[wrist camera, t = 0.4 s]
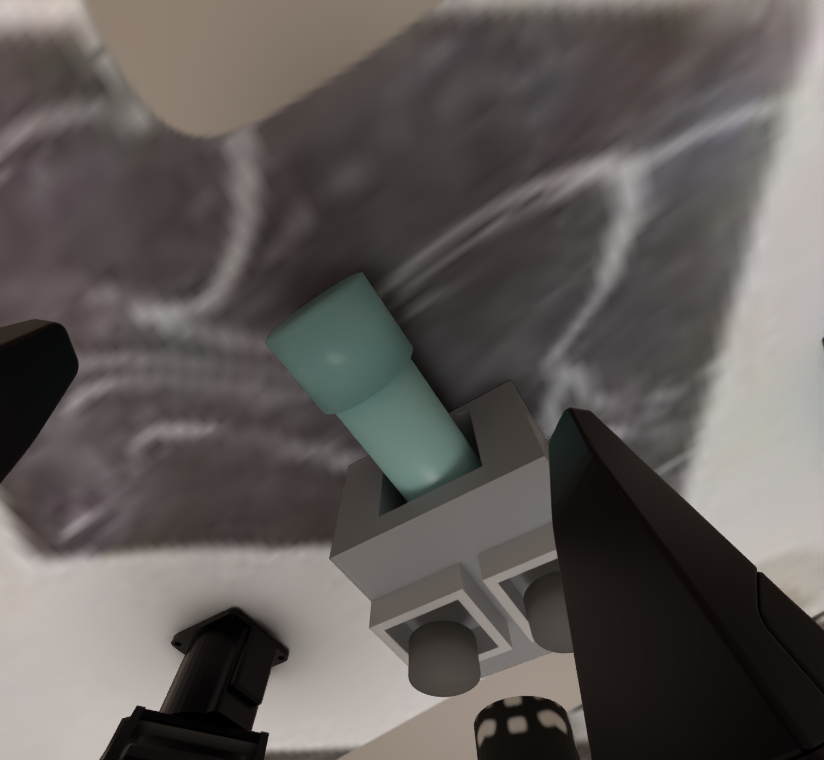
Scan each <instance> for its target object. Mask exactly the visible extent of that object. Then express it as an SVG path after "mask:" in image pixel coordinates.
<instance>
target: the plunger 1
mask: <svg viewBox="0 0 824 760" xmlns="http://www.w3.org/2000/svg"><path fill="white" fill-rule="evenodd" d="M408 677H409V681H410V683H411V685H412V686H413V687H414V688H415V689H417V690H418V691H420V692H422V693H424V694H427V695H431V696H437V697H450V696H456V695H460V694H463V693H465V692H467V691H469V690H471V689H472V688H474V687H475V686H476V685H477V684H478V682H479V680H480V677H481V671H480V664H479V656H478V649H477V641H476V637H475V635H474V633H473V632H472V631H471V630H470V629H469V628H468V627H466V626H465V625H463V624H460V623H457V622H453V621H434V622H430V623H427V624H424V625H422V626H420V627H419V628H417V629H416V630H415V631H414V632H413V633H412V634H411V636H410V638H409V669H408Z"/></svg>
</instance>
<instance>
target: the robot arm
mask: <svg viewBox="0 0 824 760" xmlns="http://www.w3.org/2000/svg"><path fill="white" fill-rule="evenodd" d="M78 367H79V363H78V359H77V356H76V354H75V351H74V348H73V346H72V343H71V340H70V338H69V335H68V333H67V330H66V329H65V328H64V327H63V326H62V325H61V324H59V323H57V322H51V321H45V320H38V319H33V320H28V321H24V322H20V323H16V324H12V325H8V326H4V327H1V328H0V484H1V482H2V481H3V480H4V479H5V477H6V476H7V475H8V474H9V472H10V471H11V470H12V469H13V467H14V466H15V465H16V464H17V462H18V461H19V460H20V459H21V457H22V456H23V455H24V454H25V452H26V451H27V450H28V448H29V447H30V446H31V444H32V443H33V441H34V440H35V438H36V437H37V436H38V434H39V433H40V431H41V429H42V428H43V426H44V425H45V423H46V422H47V420H48V418H49V417H50V415H51V414H52V412H53V411H54V409H55V408H56V406H57V404H58V403H59V401H60V400H61V398H62V397H63V395H64V393H65V392H66V390H67V389H68V387H69V386H70V384H71V382H72V381H73V379H74V378H75V376H76V374H77V372H78ZM549 472H550V492H551V513H552V526H553V533H554V540H555V546H556V552H557V557H558V563H559V569H560V575H561V581H562V587H563V593H564V599H565V605H566V611H567V617H568V622H569V628H570V634H571V640H572V646H573V652H574V658H575V664H576V670H577V676H578V682H579V687H580V693H581V699H582V705H583V711H584V717H585V723H586V729H587V735H588V741H589V747H590V753H591V758H592V760H824V629H823V628H822V627H820V626H819V625H818V624H817V623H816V622H815V621H814V620H813V619H812V618H811V617H810V616H808V615H807V614H806V613H805V612H804V611H803V610H802V609H801V608H800V607H799V606H797V605H796V604H795V603H794V602H793V601H792V600H791V599H790V598H789V597H788V596H787V595H785V594H784V593H783V592H782V591H781V590H780V589H779V588H778V587H777V586H776V585H775V584H774V583H773V582H772V581H771V580H770V579H769V578H768V577H766V576H765V575H764V574H763V573H762V572H757V568H756V566H755V565H754V564H752V563H751V562H750V561H749V560H748V559H747V558H746V557H745V556H744V555H743V554H742V553H741V552H740V551H739V550H738V549H737V548H735V547H734V546H733V545H732V544H731V543H730V542H729V541H728V540H727V539H726V538H725V537H724V536H723V535H722V534H721V533H720V532H718V531H717V530H716V529H715V528H714V527H713V526H712V525H711V524H710V523H709V522H708V521H707V520H706V519H705V518H704V517H703V516H701V515H700V514H699V513H698V512H697V511H696V510H695V509H694V508H693V507H692V506H691V505H690V504H689V503H688V502H687V501H686V500H685V499H683V498H682V497H681V496H680V495H679V494H678V493H677V492H676V491H675V490H674V489H673V488H672V487H671V486H670V485H669V484H668V483H666V482H665V481H664V480H663V479H662V478H661V477H660V476H659V475H658V474H657V473H656V472H655V471H654V470H653V469H652V468H651V467H649V466H648V465H647V464H646V463H645V462H644V461H643V460H642V459H641V458H640V457H639V456H638V455H637V454H636V453H635V452H634V451H632V450H631V449H630V448H629V447H628V446H627V445H626V444H625V443H624V442H623V441H622V440H621V439H620V438H619V437H618V436H617V435H615V434H614V433H613V432H612V431H611V430H610V429H609V428H608V427H607V426H606V425H605V424H604V423H603V422H602V421H601V420H600V419H598V418H597V417H596V416H595V415H594V414H593V413H592V412H590V411H588V410H583V409H577V408H568V409H566V410H565V411H564V412H563V414H562V416H561V418H560V420H559V422H558V424H557V427H556V429H555V431H554V433H553V435H552V437H551V439H550V443H549ZM171 644H172V646H174V647H175V648H176V649H178V650H179V651H180V652H182V653H183V654H184V655H185V656H184V658H183V661H182V663H181V665H180V667H179V669H178V672H177V674H176V676H175V678H174V680H173V682H172V685H171V687H170V689H169V691H168V693H167V696H166V698H165V700H164V702H163V704H162V707H161V709H160V711H159V712H158V711H153V710H148V709H145V708H146V707H143V706H138V705H137V706H136V708H135V710H134V712H133V713H132V715H131V716H130V717H126V718H122V720H121V722H120V724H119V726H118V728H117V730H116V732H115V734H114V735H113V737H112V739H111V741H110V743H109V745H108V747H107V748H106V750H105V752H104V753H103V755H102V756H101V758H100V759H99V760H264V756H265V751H266V746H267V741H268V736H269V733H267V732H262V731H261V733H259V732H254V731H252V727H253V724H254V720H255V717H256V713H257V710H258V706H259V705H260V704H261V703H262V700H263V697H264V693H265V690H266V686H267V682H268V679H269V675H270V671H271V668H272V667H273V666H276V665H278V664H280V663H283V662H285V661H287V659H288V656H289V652H288V651H287V650H286V649H285V648H284V647H282V646H281V645H280V644H279V643H278V642H276V641H275V640H274V639H273V638H272V637H270V636H269V635H268V634H267V633H266V632H264V631H263V630H262V629H261V628H260V627H258V626H257V625H256V624H255V623H254V622H252V621H251V620H250V619H249V618H248V617H246V616H245V615H244V614H243V613H242V612H240V611H239V610H237V609H230V610H228V611H226V612H223V613H221V614H219V615H217V616H215V617H213V618H211V619H209V620H207V621H205V622H202V623H200V624H198V625H196V626H194V627H192V628H190V629H188V630H186V631H184V632H181V633H179V634H177V635H175V636H174V638H173V640H172V642H171Z"/></svg>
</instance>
